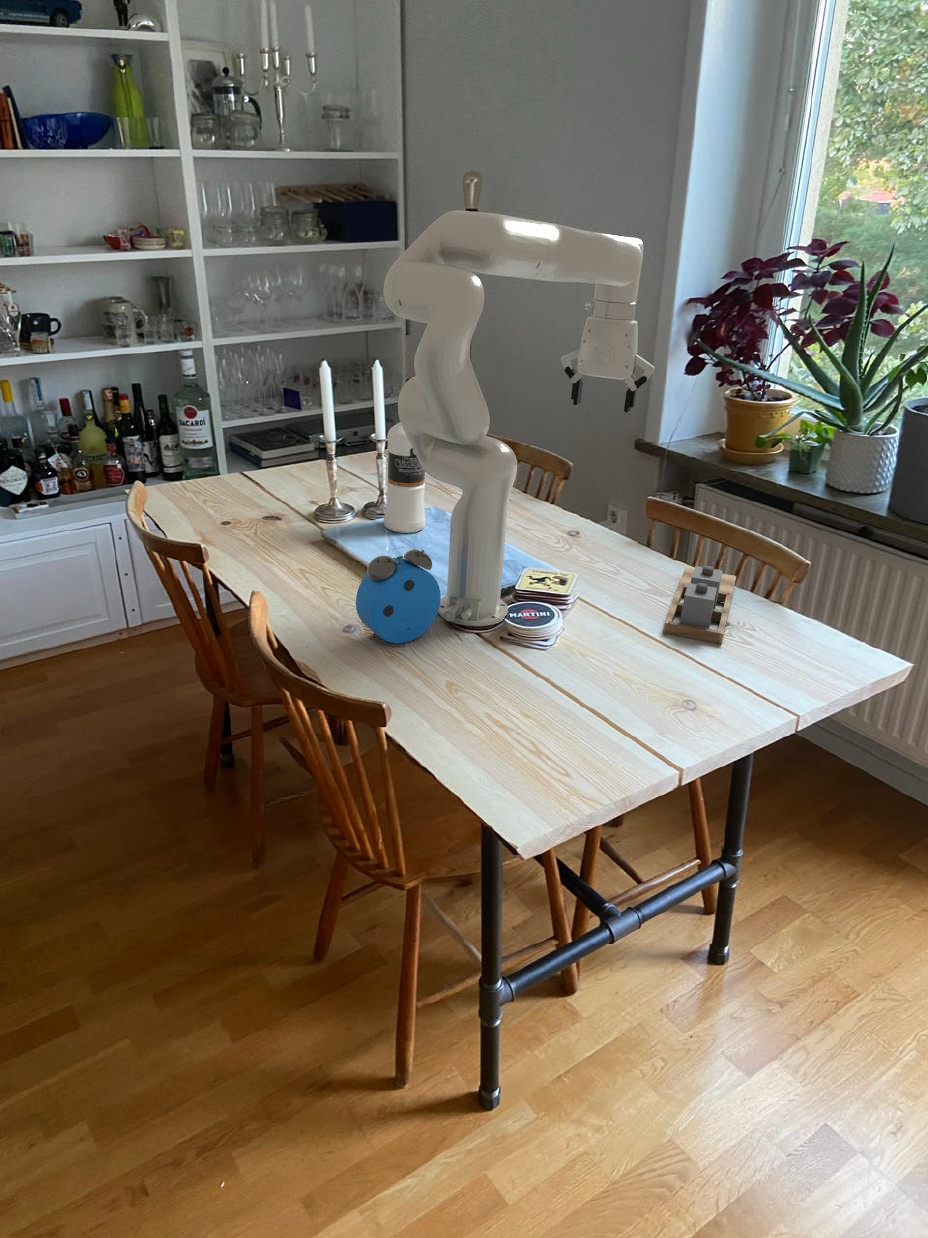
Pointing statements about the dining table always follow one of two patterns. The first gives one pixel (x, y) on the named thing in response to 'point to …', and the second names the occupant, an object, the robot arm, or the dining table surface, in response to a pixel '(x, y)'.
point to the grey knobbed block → (707, 578)
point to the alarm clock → (398, 597)
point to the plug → (698, 605)
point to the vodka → (404, 485)
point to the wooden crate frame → (717, 615)
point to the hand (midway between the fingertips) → (601, 407)
